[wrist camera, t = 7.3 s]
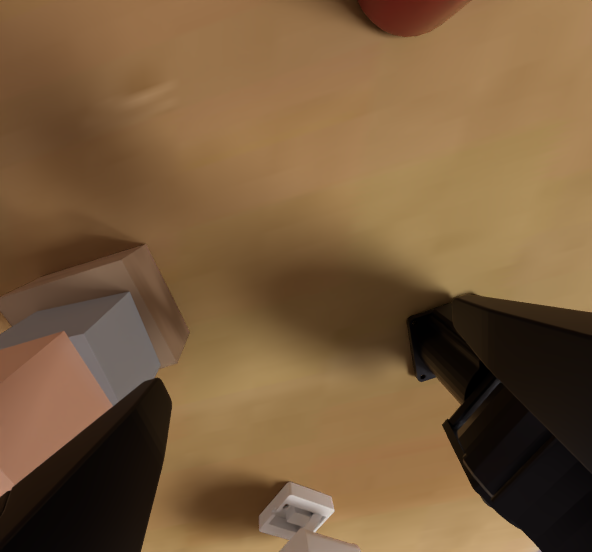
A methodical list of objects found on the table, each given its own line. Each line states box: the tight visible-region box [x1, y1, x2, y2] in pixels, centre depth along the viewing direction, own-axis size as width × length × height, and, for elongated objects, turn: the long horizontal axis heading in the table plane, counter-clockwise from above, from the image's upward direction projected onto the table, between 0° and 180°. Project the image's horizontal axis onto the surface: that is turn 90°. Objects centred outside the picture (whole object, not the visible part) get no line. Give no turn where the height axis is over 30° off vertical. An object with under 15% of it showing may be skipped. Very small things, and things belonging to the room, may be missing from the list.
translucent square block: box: [0, 244, 190, 369], centre depth 18 cm, size 7×7×4 cm
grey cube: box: [0, 291, 161, 406], centre depth 15 cm, size 5×5×4 cm
